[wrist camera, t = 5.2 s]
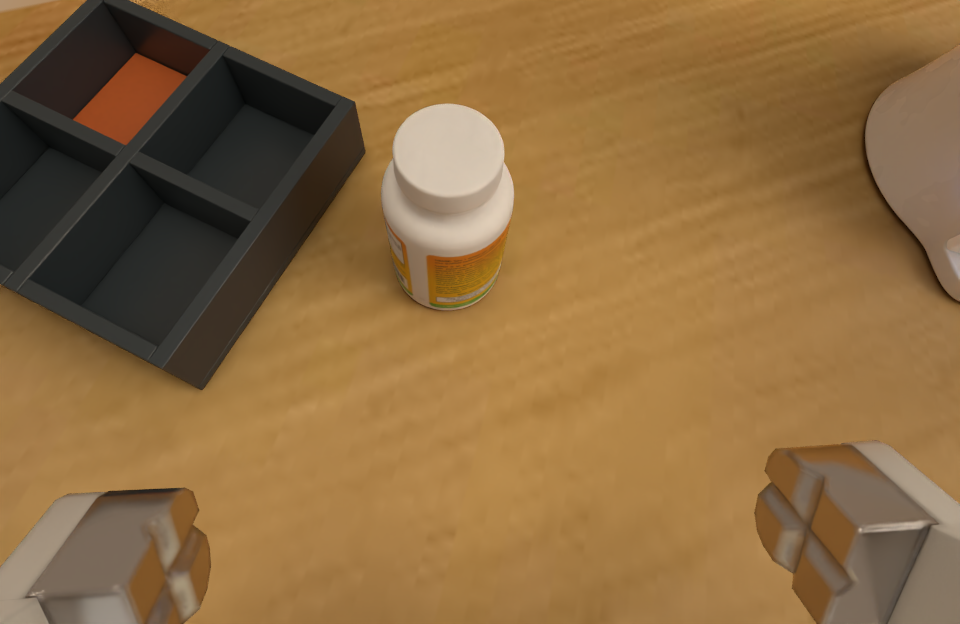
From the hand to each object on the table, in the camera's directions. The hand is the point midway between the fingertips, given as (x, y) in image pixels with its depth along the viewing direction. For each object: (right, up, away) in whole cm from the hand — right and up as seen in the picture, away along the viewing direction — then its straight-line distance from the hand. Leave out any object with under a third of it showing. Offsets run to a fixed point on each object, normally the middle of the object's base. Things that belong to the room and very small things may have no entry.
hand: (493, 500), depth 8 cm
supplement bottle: (-2, +5, +21) cm, 22 cm away
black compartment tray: (-16, +9, +21) cm, 28 cm away
